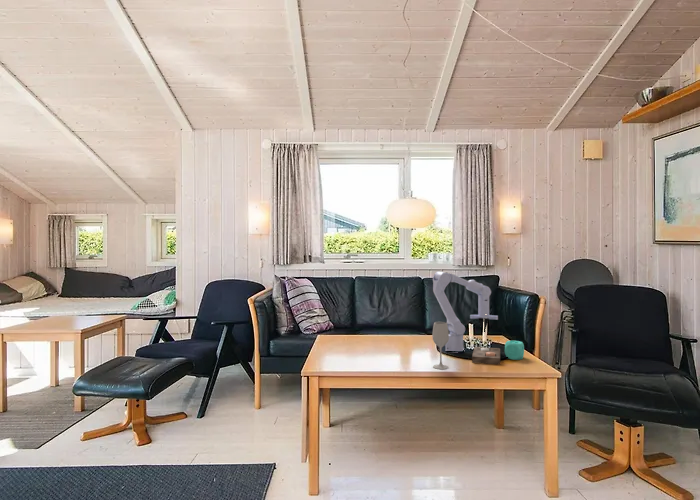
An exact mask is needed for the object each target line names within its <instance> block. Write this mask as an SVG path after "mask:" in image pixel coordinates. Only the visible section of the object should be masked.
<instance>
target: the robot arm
mask: <svg viewBox="0 0 700 500" xmlns="http://www.w3.org/2000/svg"><path fill="white" fill-rule="evenodd" d="M432 283H433V284H432V292H433V295H434V297H435V299H436V300H437V302H438V303H439V306H440V309H441V310H442V312H443V314H444V316H445V318H446V323H447V326H448V332H449V340H448V342H447V344H446V345H445V346H444V347H445V351H463V350H464V349H465V348H464V334H465V331H466V327H465V325H464V324H463V323H461V320H460V319H459V318H458V317H457V315H456V313H455V311H454V309H453V307H452V305H451V303H450V301H449V299H448V297H447V295H446V293H445V291H446V287H447V286H448V285H449V284H450V283H456V284H459V285H460V286H464V287H465V289H466V291H467V290H468V291H470V292H472V293H475V294H476V295H477V296H478V304H477V305H478V308H477V311H478V313H477V314H470V315H469V319H472V320H473V319H476V320H478V322H479V324H480V327H481V330H482V331H481V332H482V333H483V322H484V332H485V333H486V330H485V329H487V326H488V324H489V321H490V320H497V321H498V320H499V315H494V314H493V315H492V314H490V296H491V294H492V290H491V288H490V287H489V286H487V285H484V284H483V283H481V282H478V281H476V280H475V279H469V280H467V279H464V278H463V277H460V276H458V275H456V274H453V273H448V272H444V271H439V270H438V271H436V272H435V273H434V275H433V277H432ZM485 314H487V315H485ZM464 351H465V350H464Z"/></svg>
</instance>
